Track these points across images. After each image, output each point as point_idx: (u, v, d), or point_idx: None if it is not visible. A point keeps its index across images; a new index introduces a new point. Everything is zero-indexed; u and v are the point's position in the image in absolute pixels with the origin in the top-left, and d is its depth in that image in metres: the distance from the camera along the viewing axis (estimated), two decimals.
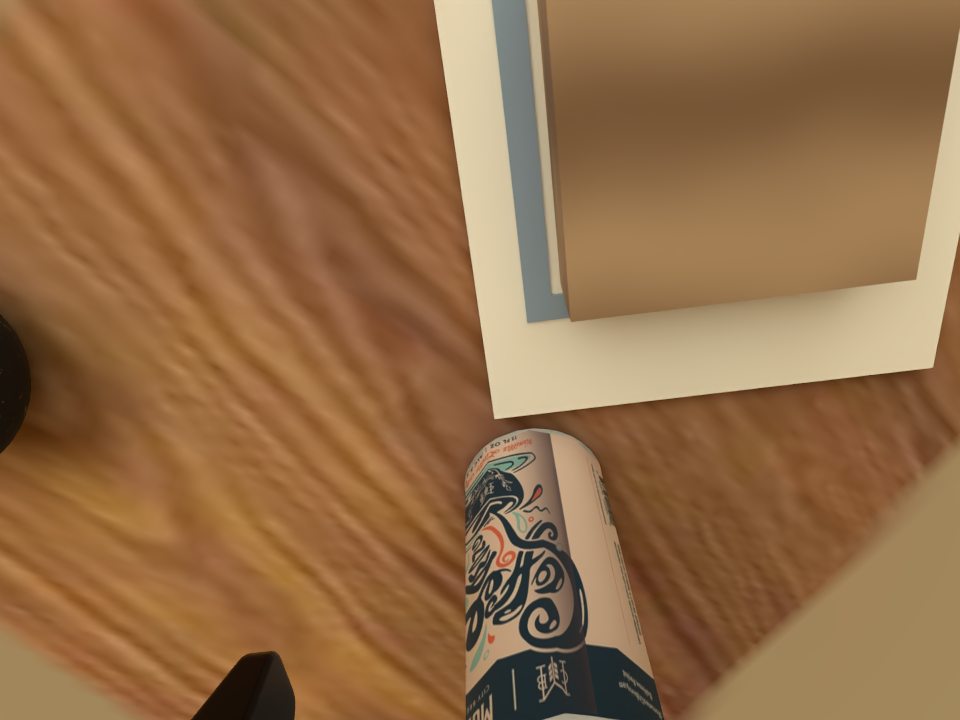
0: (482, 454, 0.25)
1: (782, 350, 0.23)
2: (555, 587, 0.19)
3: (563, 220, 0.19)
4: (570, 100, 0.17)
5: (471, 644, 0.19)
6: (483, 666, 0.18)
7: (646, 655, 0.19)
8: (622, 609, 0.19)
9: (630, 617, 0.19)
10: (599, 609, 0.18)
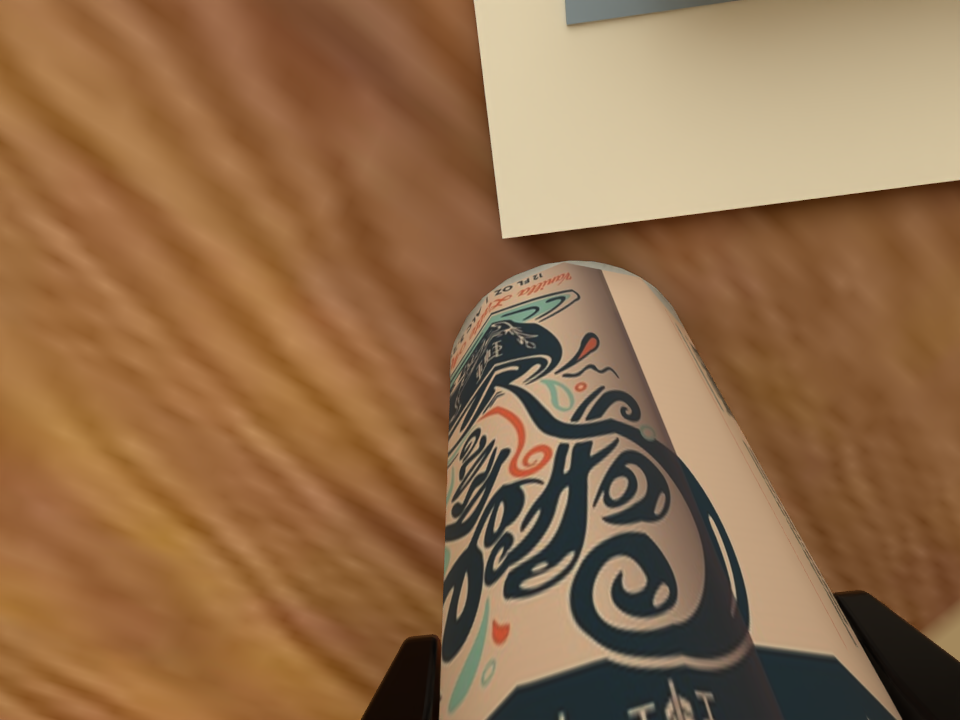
0: (480, 310, 0.14)
1: None
2: (653, 512, 0.08)
3: None
4: None
5: (453, 646, 0.08)
6: (481, 702, 0.07)
7: (875, 673, 0.08)
8: (803, 564, 0.08)
9: (819, 584, 0.08)
10: (765, 560, 0.08)
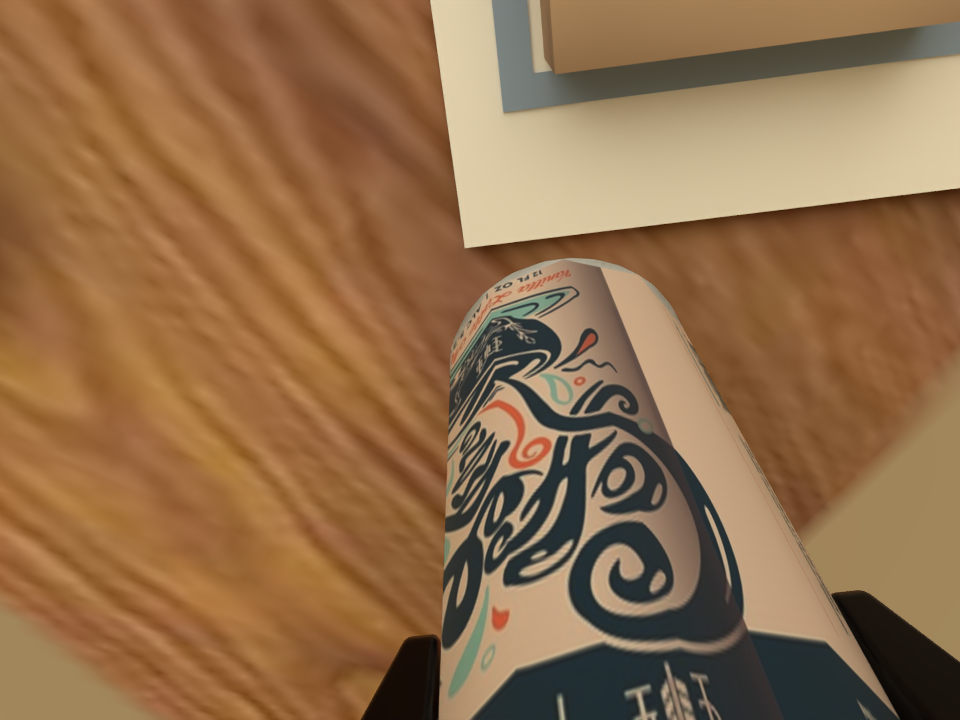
0: (480, 306, 0.14)
1: (815, 156, 0.19)
2: (650, 501, 0.08)
3: None
4: None
5: (453, 633, 0.08)
6: (481, 687, 0.07)
7: (866, 660, 0.08)
8: (796, 555, 0.08)
9: (812, 574, 0.09)
10: (760, 549, 0.08)
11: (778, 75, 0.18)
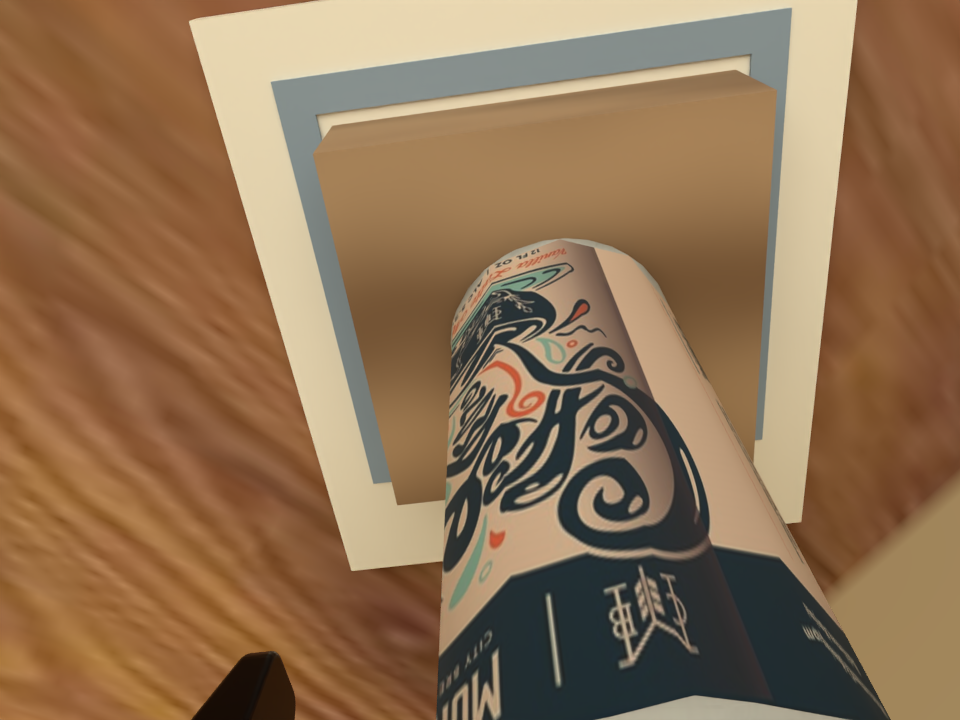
0: (481, 281, 0.15)
1: None
2: (632, 442, 0.09)
3: (376, 413, 0.18)
4: (366, 303, 0.16)
5: (454, 558, 0.09)
6: (479, 594, 0.08)
7: (818, 586, 0.09)
8: (760, 496, 0.10)
9: (774, 514, 0.10)
10: (727, 485, 0.09)
11: None
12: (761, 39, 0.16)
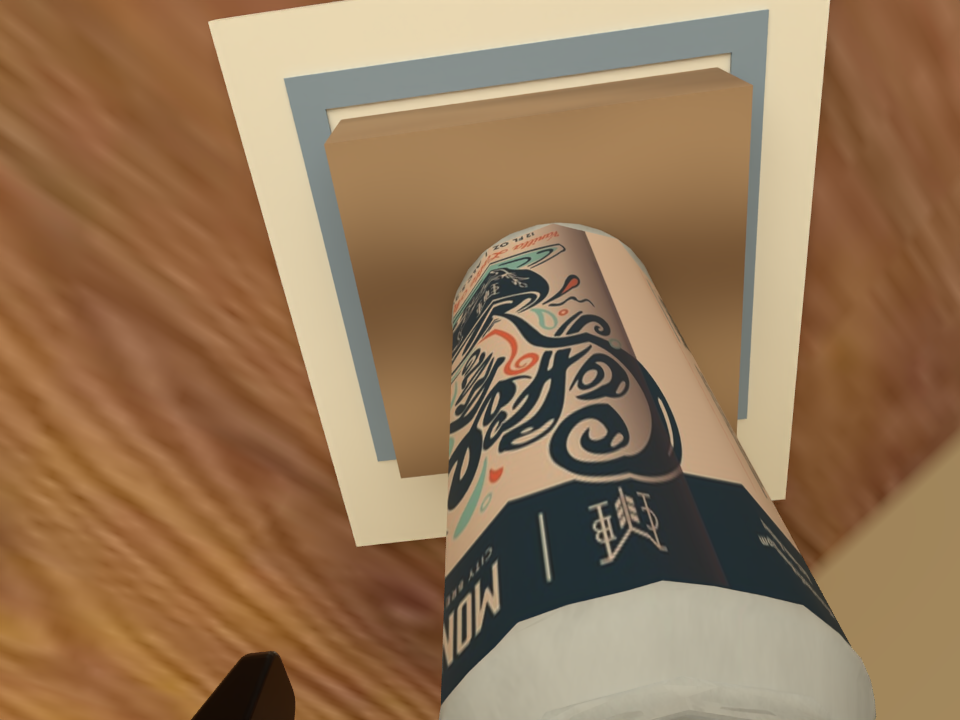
0: (480, 263, 0.17)
1: None
2: (615, 392, 0.10)
3: (381, 389, 0.19)
4: (372, 285, 0.17)
5: (457, 497, 0.11)
6: (480, 522, 0.09)
7: (780, 517, 0.10)
8: (730, 441, 0.11)
9: (743, 458, 0.11)
10: (699, 427, 0.10)
11: None
12: (740, 38, 0.17)
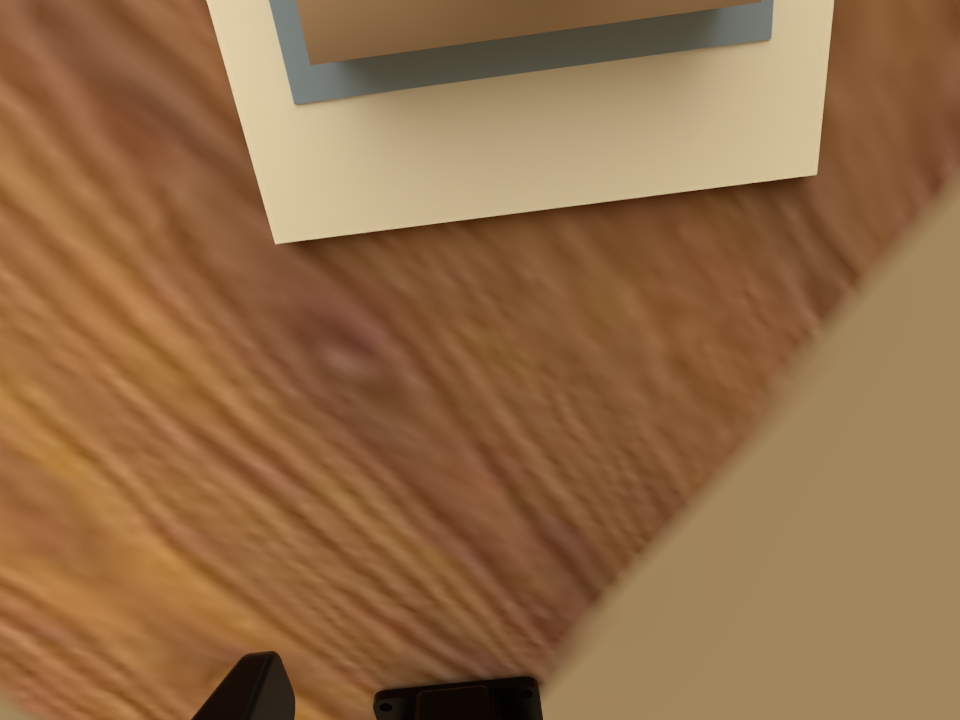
0: None
1: (624, 148, 0.18)
2: None
3: None
4: None
5: None
6: None
7: None
8: None
9: None
10: None
11: (575, 65, 0.18)
12: None
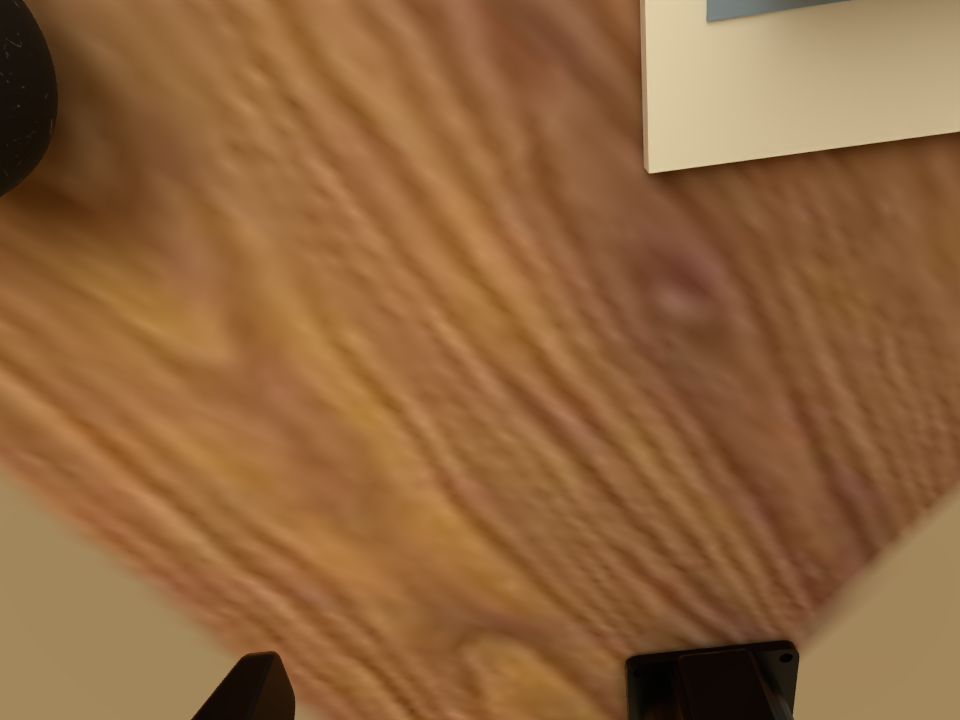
0: None
1: None
2: None
3: None
4: None
5: None
6: None
7: None
8: None
9: None
10: None
11: None
12: None
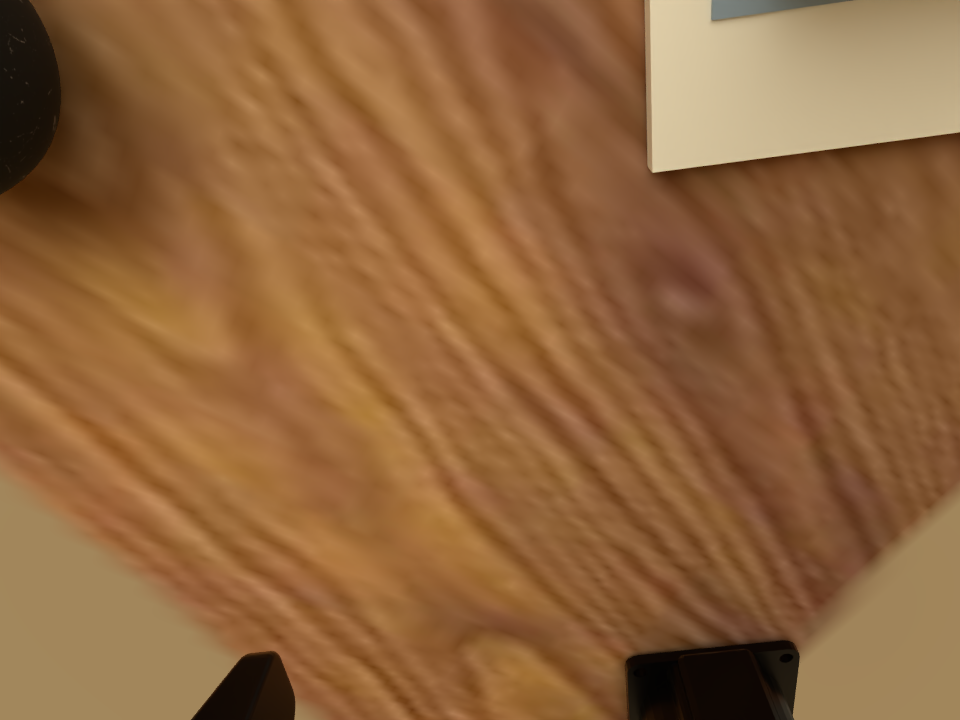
0: None
1: None
2: None
3: None
4: None
5: None
6: None
7: None
8: None
9: None
10: None
11: None
12: None
